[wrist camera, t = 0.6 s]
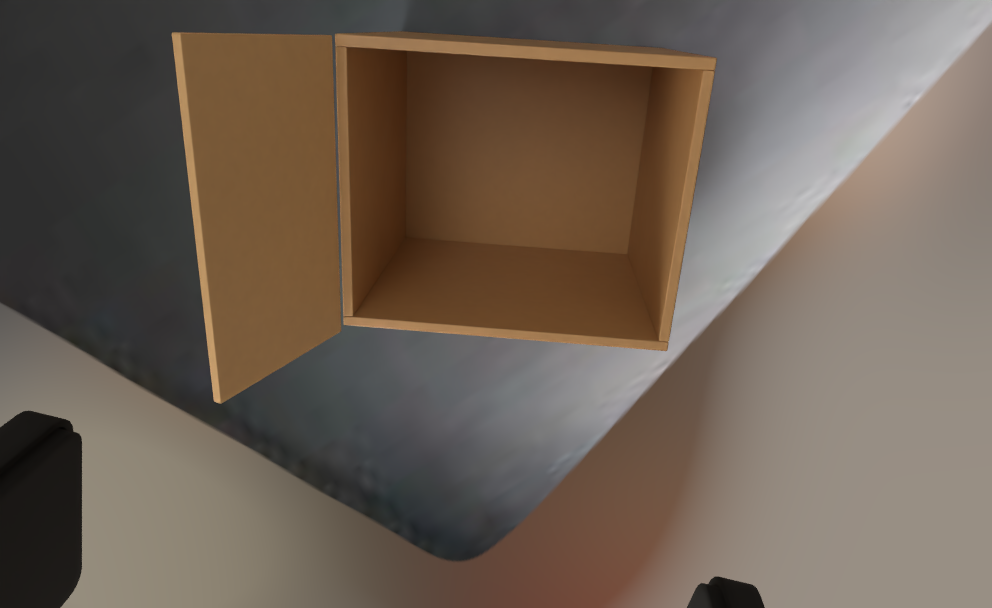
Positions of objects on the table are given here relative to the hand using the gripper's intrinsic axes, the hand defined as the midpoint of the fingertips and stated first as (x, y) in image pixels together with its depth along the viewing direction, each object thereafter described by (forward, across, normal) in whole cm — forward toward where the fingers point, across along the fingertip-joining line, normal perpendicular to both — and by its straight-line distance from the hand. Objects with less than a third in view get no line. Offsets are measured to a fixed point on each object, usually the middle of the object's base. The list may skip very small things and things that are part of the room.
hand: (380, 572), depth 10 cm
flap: (+13, +6, 0) cm, 14 cm away
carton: (+28, -1, -2) cm, 28 cm away
